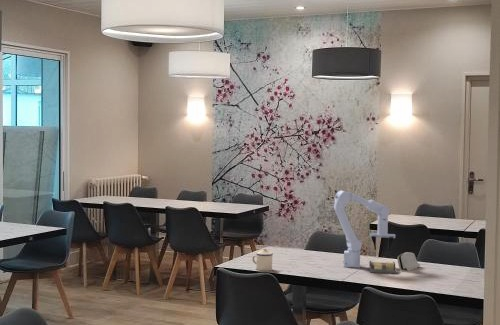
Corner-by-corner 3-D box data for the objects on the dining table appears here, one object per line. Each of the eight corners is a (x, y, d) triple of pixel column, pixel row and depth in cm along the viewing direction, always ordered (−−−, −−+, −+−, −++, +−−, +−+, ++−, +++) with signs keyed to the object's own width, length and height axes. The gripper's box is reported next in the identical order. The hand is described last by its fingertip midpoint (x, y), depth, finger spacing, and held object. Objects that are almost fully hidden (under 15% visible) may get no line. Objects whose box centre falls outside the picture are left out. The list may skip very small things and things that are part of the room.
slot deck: (369, 269, 378) (369, 263, 377) (369, 266, 386) (369, 260, 386) (395, 270, 375) (395, 264, 375) (394, 267, 384) (394, 261, 384)
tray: (370, 272, 367) (370, 269, 367) (369, 269, 377) (369, 265, 377) (396, 273, 365) (396, 270, 365) (395, 270, 375) (395, 267, 375)
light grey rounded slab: (407, 270, 375) (402, 253, 377) (400, 272, 378) (395, 255, 380) (420, 266, 388) (415, 250, 390) (413, 268, 391) (408, 251, 393)
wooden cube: (374, 270, 371) (374, 271, 367) (374, 263, 371) (374, 264, 367) (381, 270, 371) (381, 272, 367) (381, 263, 371) (381, 264, 367)
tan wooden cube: (385, 269, 375) (386, 270, 371) (386, 262, 375) (386, 263, 371) (393, 269, 374) (393, 271, 370) (393, 262, 374) (393, 263, 370)
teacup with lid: (275, 269, 372) (275, 248, 372) (267, 271, 364) (268, 250, 364) (256, 266, 378) (256, 246, 378) (248, 269, 370) (248, 248, 370)
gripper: (395, 226, 390) (394, 249, 390) (369, 225, 392) (369, 248, 393) (395, 227, 383) (395, 251, 383) (369, 226, 385) (369, 250, 386)
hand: (381, 249), depth 388 cm, fingers open, 7 cm apart
